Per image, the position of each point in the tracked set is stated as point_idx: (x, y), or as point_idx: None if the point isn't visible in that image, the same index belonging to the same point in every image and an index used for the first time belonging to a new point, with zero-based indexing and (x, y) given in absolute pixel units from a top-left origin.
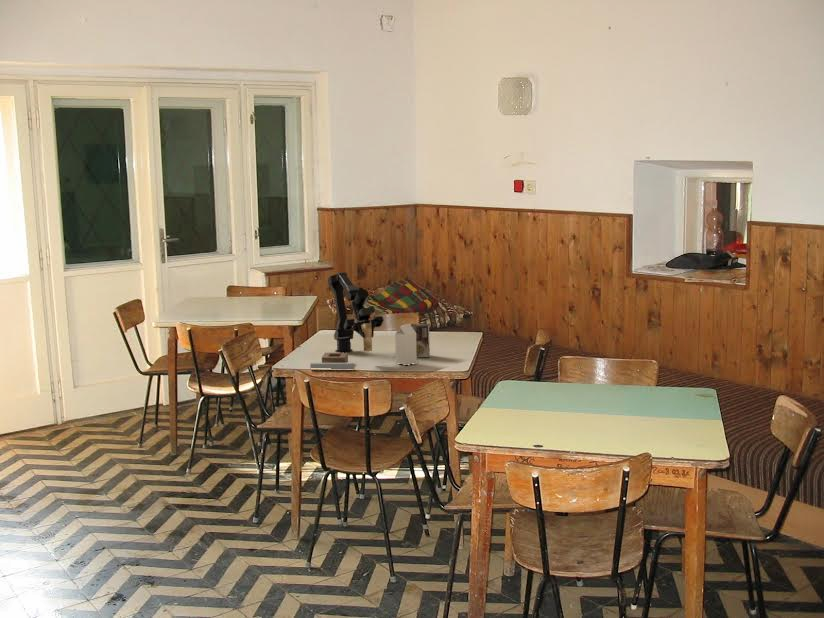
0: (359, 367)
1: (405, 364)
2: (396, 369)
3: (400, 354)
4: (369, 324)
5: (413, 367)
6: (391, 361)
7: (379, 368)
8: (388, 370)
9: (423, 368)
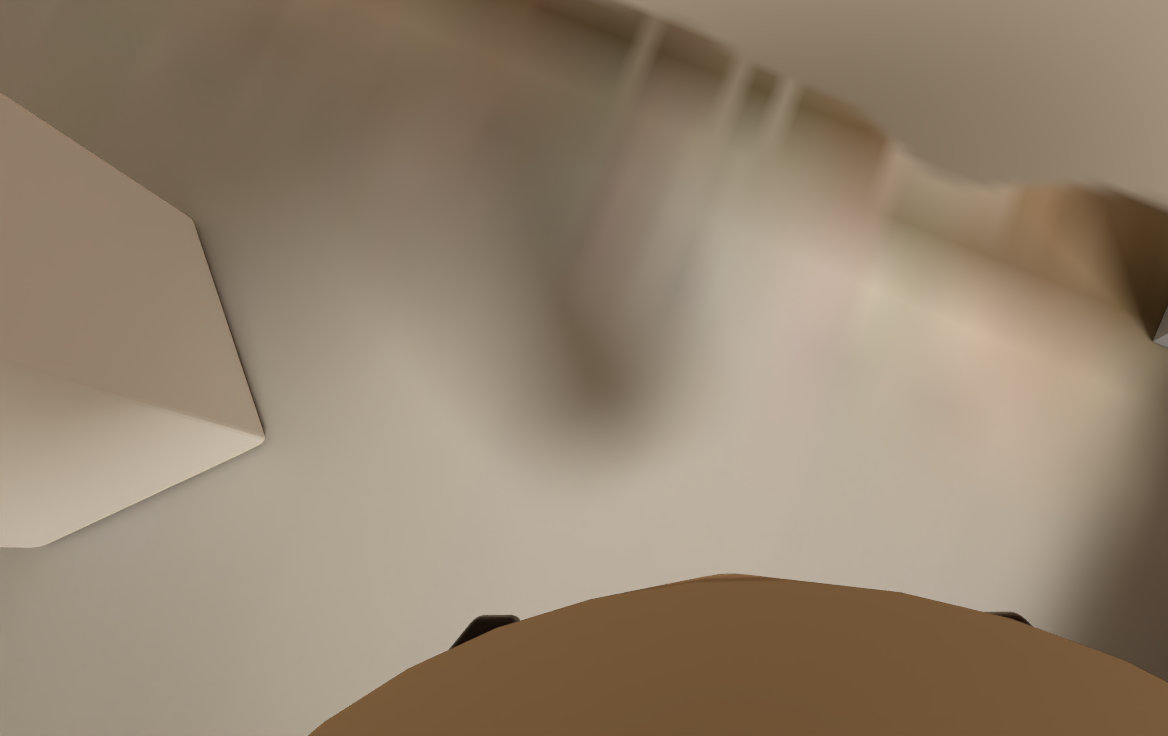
0: (978, 502)
1: (188, 229)
2: (423, 92)
3: (112, 278)
4: (616, 598)
5: (147, 114)
6: (240, 687)
7: (647, 265)
8: (563, 78)
9: (63, 7)
